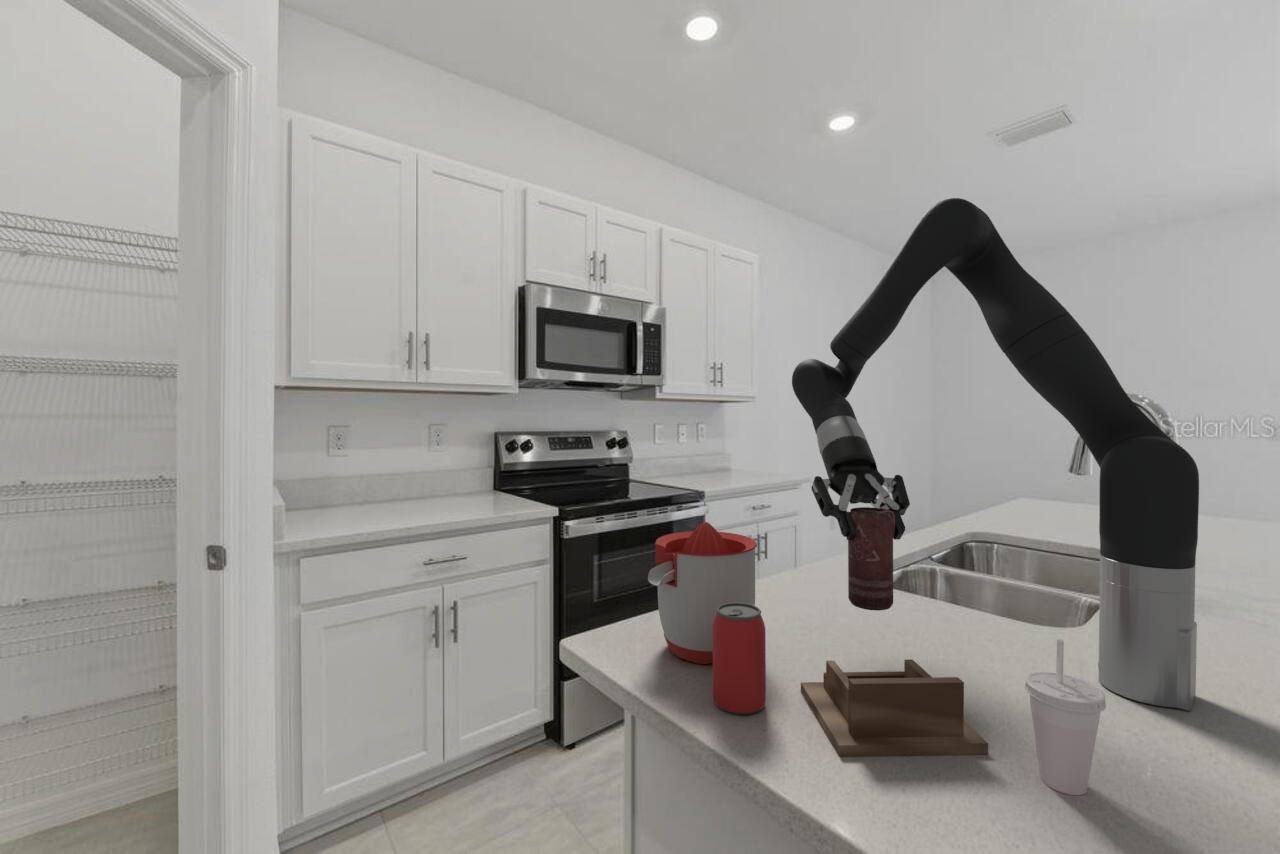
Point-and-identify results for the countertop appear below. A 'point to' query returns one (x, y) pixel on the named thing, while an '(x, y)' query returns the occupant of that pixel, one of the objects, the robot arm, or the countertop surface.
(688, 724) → the countertop surface
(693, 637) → the citrus juicer
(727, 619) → the beer can
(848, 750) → the dock
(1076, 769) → the smoothie
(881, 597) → the can
